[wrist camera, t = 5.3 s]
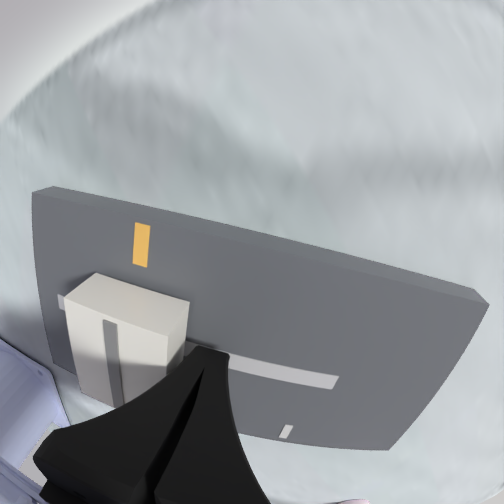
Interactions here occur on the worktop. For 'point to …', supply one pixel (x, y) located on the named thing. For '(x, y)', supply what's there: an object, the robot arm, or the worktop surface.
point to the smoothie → (356, 501)
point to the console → (268, 315)
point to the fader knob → (123, 337)
